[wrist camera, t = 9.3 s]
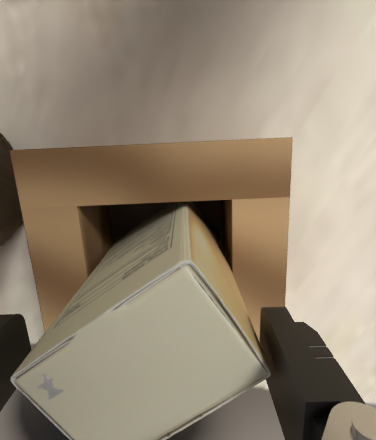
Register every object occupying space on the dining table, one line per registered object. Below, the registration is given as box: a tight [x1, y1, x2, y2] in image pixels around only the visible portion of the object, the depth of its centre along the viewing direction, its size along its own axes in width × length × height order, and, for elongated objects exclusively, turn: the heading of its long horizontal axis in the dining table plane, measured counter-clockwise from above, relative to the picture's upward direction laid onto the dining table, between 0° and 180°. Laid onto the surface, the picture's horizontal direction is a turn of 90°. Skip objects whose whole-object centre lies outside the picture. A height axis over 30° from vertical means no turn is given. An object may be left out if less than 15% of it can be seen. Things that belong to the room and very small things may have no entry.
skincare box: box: [10, 201, 271, 440], centre depth 14 cm, size 6×4×12 cm
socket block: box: [10, 137, 292, 342], centre depth 17 cm, size 13×13×5 cm
